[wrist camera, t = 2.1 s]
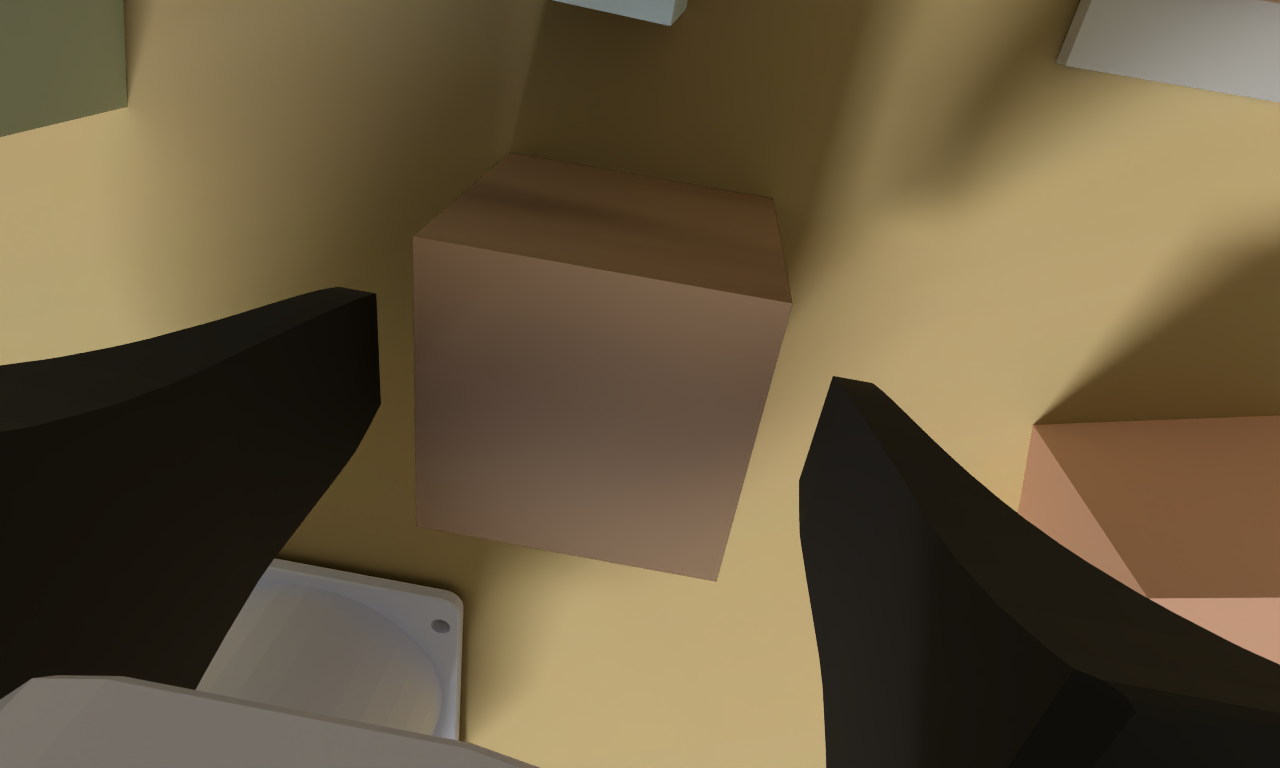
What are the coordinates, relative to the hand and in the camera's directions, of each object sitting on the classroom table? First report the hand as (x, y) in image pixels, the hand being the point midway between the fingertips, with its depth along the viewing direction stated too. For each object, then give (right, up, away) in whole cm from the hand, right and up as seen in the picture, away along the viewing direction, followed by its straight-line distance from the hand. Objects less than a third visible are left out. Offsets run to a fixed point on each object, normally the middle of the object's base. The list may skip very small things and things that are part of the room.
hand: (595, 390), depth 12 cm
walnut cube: (0, +2, +4) cm, 4 cm away
